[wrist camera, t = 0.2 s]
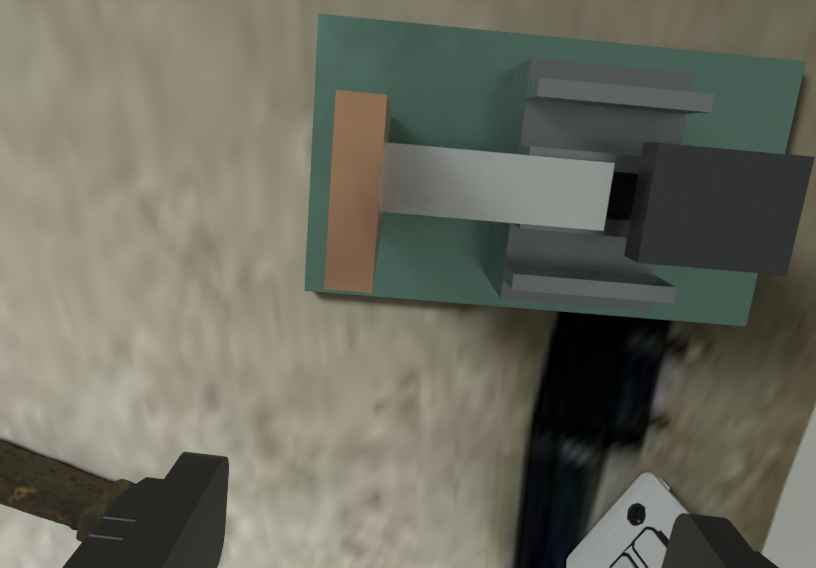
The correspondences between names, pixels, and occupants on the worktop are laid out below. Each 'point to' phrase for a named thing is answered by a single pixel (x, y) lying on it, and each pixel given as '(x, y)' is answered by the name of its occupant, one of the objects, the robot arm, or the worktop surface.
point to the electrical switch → (632, 529)
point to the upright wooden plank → (439, 187)
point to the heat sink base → (583, 140)
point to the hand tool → (55, 490)
